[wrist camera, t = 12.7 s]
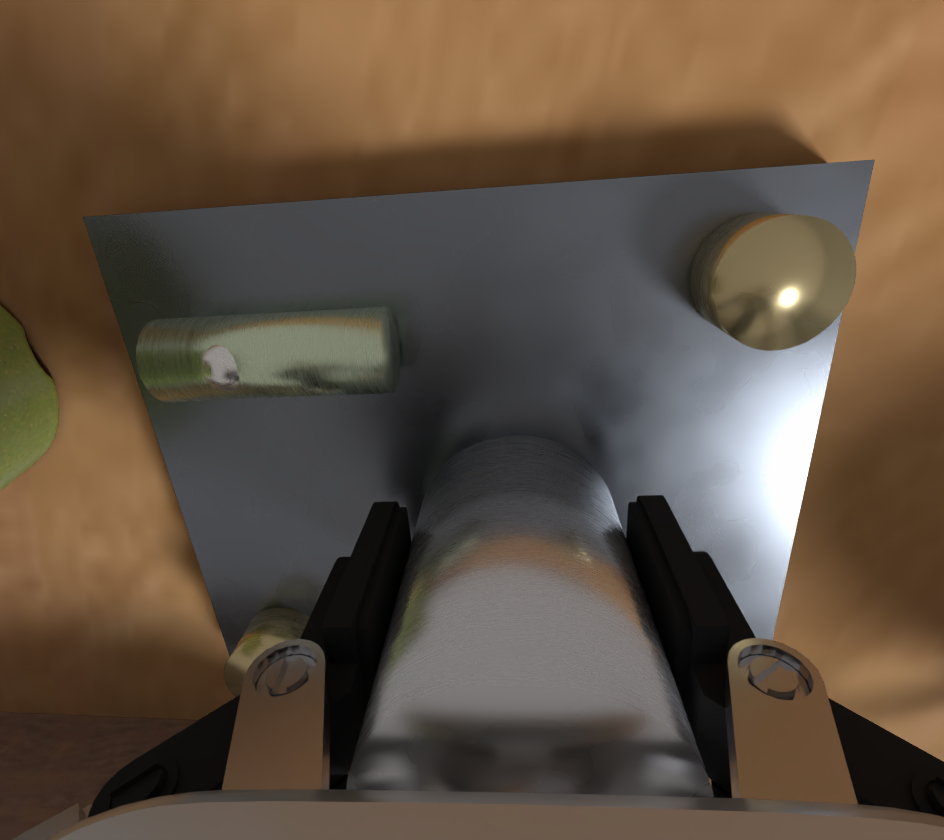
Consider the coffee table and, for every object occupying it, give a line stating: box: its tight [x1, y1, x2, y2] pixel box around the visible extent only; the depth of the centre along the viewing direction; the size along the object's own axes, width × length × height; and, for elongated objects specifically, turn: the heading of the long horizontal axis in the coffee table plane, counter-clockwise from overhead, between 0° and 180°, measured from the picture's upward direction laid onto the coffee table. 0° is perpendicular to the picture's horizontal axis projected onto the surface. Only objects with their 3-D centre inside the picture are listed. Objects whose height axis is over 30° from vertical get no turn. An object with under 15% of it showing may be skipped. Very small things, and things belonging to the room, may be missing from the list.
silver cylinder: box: [346, 436, 713, 798], centre depth 10 cm, size 5×5×7 cm
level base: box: [83, 160, 874, 697], centre depth 13 cm, size 16×14×4 cm
